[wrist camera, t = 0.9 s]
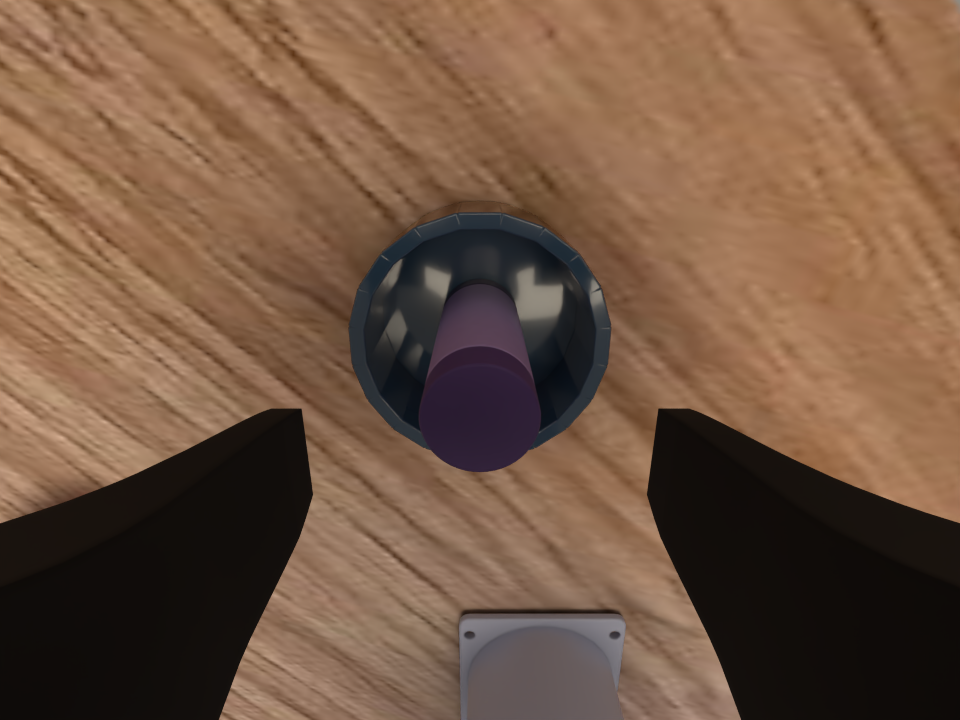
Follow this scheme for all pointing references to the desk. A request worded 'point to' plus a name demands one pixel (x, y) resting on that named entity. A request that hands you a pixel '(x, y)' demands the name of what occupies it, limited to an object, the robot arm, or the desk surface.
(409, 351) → the desk cup
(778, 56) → the desk surface
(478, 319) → the glue stick
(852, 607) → the robot arm
